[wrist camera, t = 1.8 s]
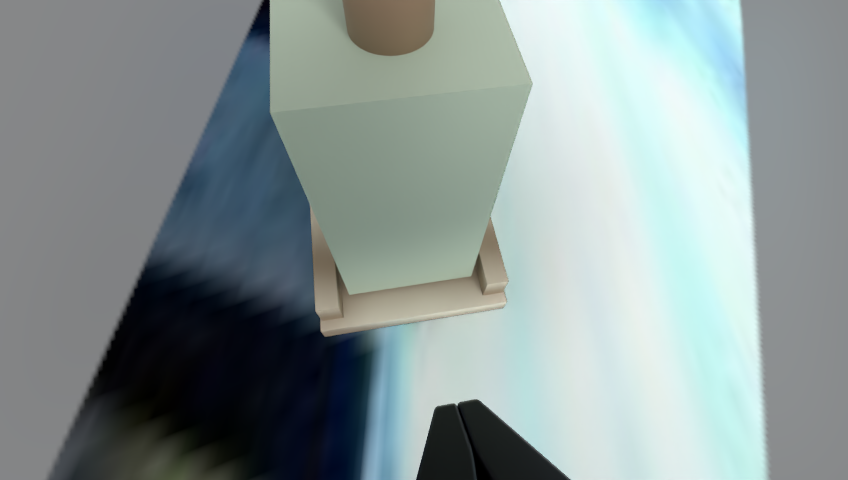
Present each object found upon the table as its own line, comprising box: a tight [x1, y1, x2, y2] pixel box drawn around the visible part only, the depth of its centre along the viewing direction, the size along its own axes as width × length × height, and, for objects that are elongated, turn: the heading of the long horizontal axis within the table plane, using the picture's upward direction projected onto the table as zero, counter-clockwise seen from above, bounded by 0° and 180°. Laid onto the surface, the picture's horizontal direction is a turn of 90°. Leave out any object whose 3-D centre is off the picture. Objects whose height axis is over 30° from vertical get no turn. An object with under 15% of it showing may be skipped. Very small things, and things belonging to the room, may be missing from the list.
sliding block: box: [270, 0, 533, 295], centre depth 14 cm, size 5×6×15 cm
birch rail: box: [310, 205, 508, 337], centre depth 23 cm, size 17×9×2 cm, turn 10°
